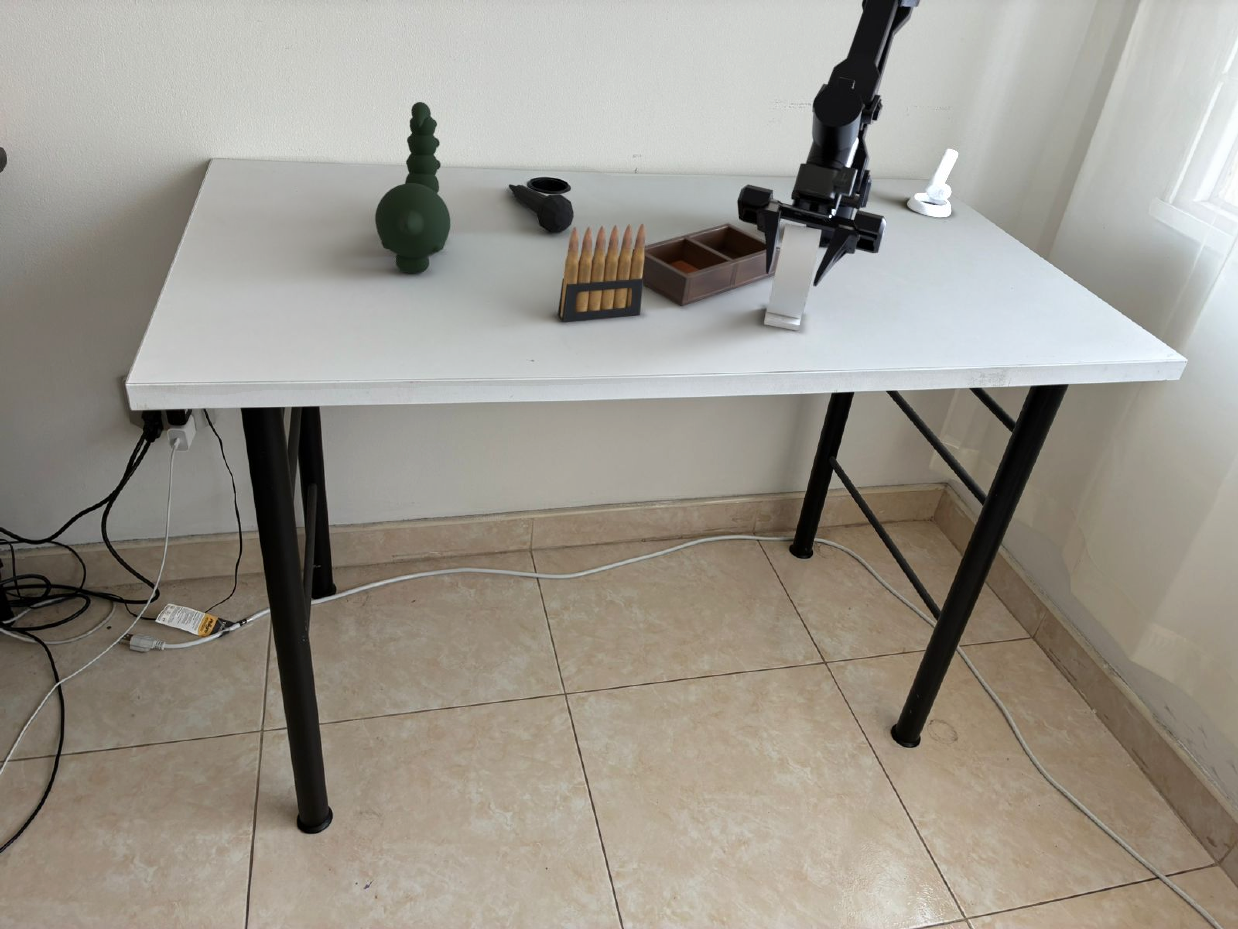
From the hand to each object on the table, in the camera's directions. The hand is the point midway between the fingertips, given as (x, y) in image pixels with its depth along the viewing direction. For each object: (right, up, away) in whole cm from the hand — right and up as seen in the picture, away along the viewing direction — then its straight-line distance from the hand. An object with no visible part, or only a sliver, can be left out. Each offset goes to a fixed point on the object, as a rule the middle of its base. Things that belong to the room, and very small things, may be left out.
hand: (790, 279), depth 120 cm
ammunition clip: (-24, -5, 0) cm, 25 cm away
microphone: (-34, +15, +25) cm, 45 cm away
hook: (+33, +22, +48) cm, 62 cm away
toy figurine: (-50, +5, +10) cm, 51 cm away
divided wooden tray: (-10, +3, +14) cm, 17 cm away
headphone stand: (0, -5, +5) cm, 7 cm away
